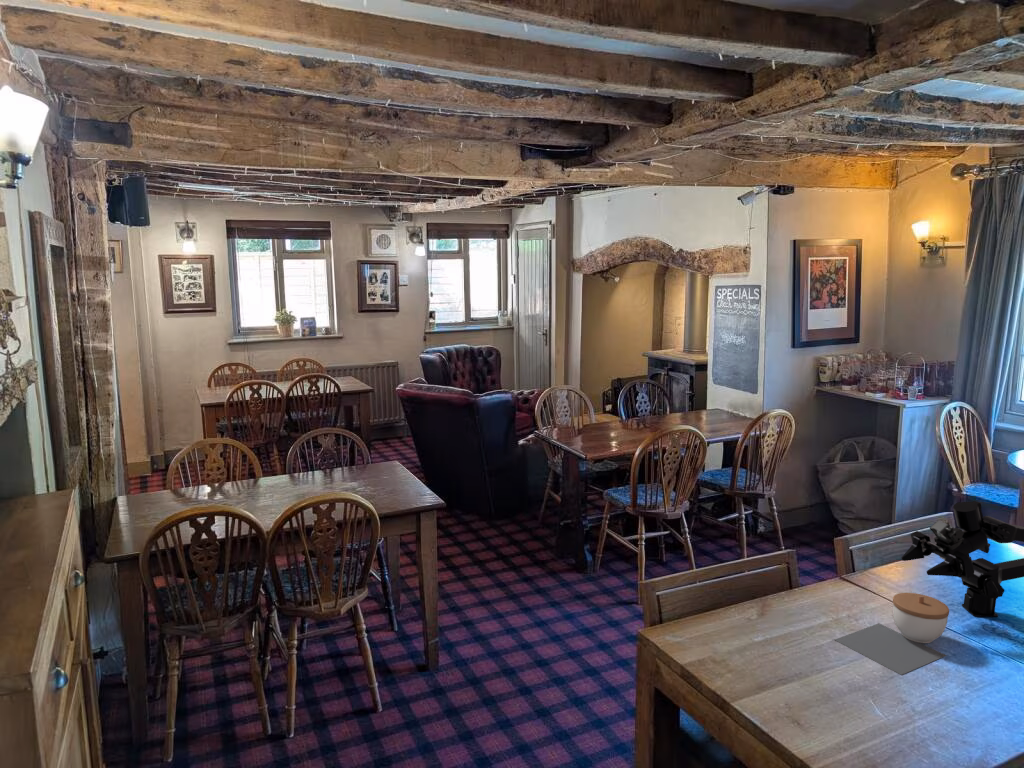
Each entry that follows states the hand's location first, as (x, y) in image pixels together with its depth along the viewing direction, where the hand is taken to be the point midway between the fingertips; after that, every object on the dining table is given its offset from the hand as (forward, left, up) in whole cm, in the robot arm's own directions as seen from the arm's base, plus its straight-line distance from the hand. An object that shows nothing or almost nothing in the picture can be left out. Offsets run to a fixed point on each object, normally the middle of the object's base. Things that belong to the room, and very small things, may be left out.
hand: (914, 566), depth 191 cm
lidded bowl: (+3, +10, -15) cm, 18 cm away
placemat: (+12, +16, -15) cm, 25 cm away
